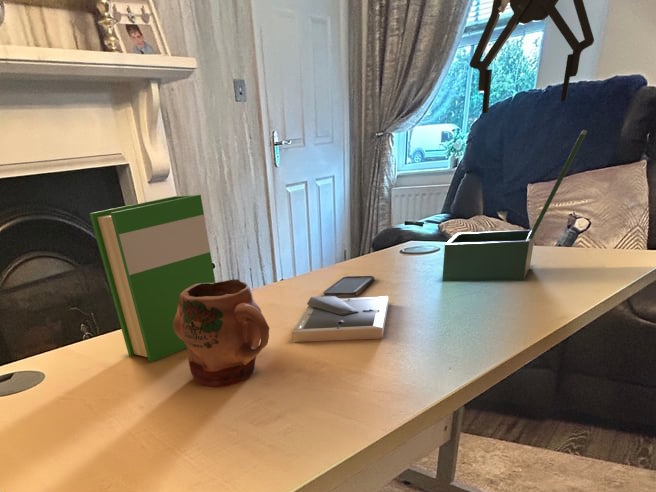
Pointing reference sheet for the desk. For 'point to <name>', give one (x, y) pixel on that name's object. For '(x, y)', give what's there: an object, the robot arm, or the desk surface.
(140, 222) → the hardback book
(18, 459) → the desk surface
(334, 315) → the picture frame
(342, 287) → the phone
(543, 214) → the lid
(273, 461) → the desk surface
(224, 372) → the terracotta mug
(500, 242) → the box
